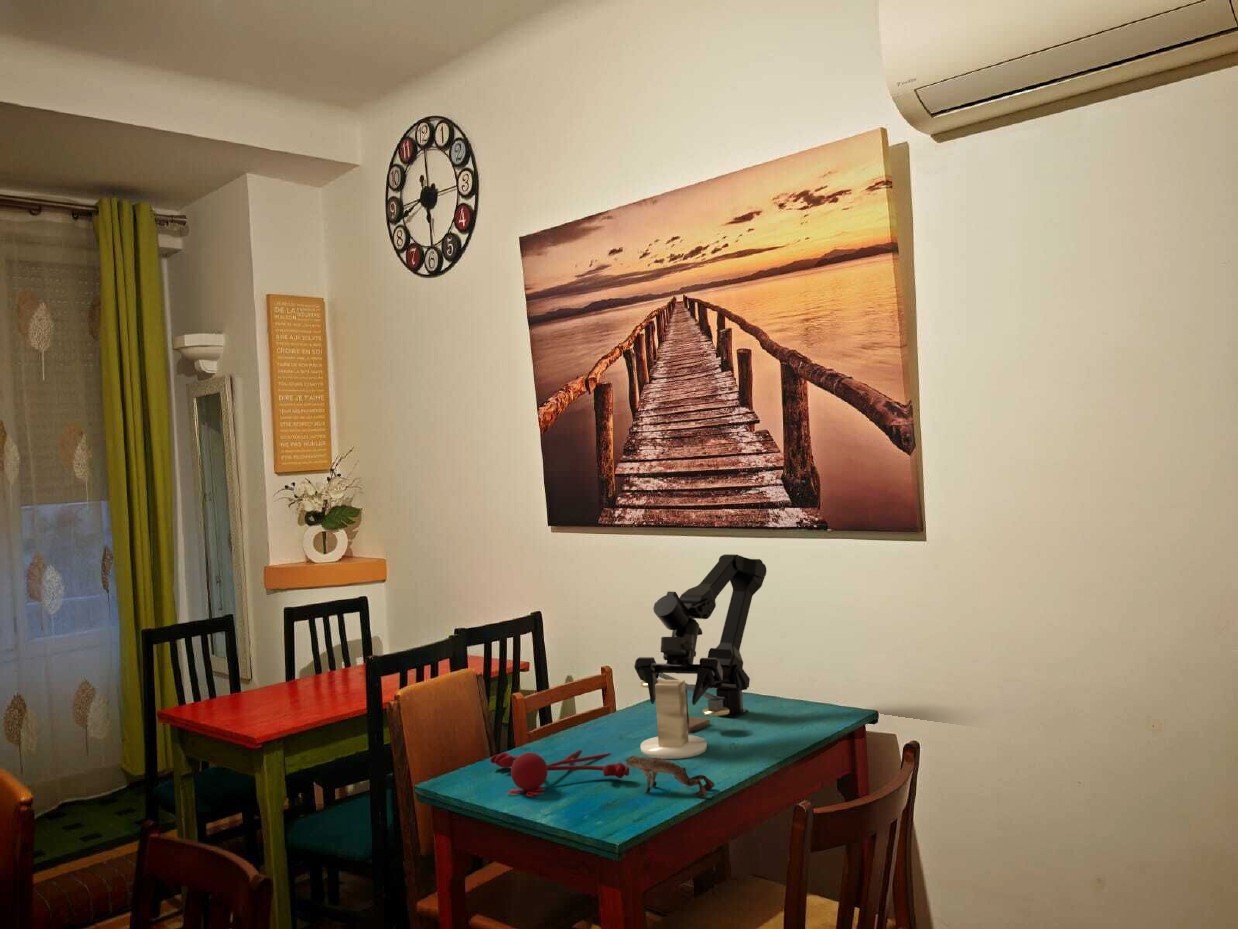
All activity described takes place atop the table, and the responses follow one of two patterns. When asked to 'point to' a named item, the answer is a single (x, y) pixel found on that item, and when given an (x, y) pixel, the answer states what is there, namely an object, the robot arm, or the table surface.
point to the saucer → (674, 748)
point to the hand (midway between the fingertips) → (672, 703)
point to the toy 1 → (547, 769)
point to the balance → (713, 709)
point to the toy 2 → (670, 768)
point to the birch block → (671, 713)
